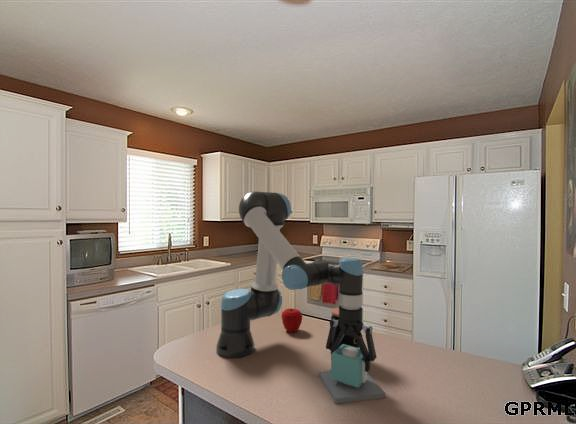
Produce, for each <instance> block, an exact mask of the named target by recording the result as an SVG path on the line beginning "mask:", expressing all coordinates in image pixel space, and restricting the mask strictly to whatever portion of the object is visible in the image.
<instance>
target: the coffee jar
mask: <svg viewBox="0 0 576 424" xmlns="http://www.w3.org/2000/svg"><path fill="white" fill-rule="evenodd" d="M330 311H331V316H330V321H331V320H332V319H336V320H339V306H338V307H334V308H332V309H331V310H330ZM340 331H341V328H340V327H339V325H337V326H336V331H335V335H334V340H333V344H334V343H335V341H336V339H337V337H338V335H339V332H340ZM333 344H332V345H333ZM342 344H345V345H349V346H353V347H357V348H359V346H358V343H357V341H356V340H355V338H354V337H351V336H350V335H344V337H343V339H342V341H341V343H340V344H339V346H338V348H339V347H340V346H341V345H342Z"/></svg>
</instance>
